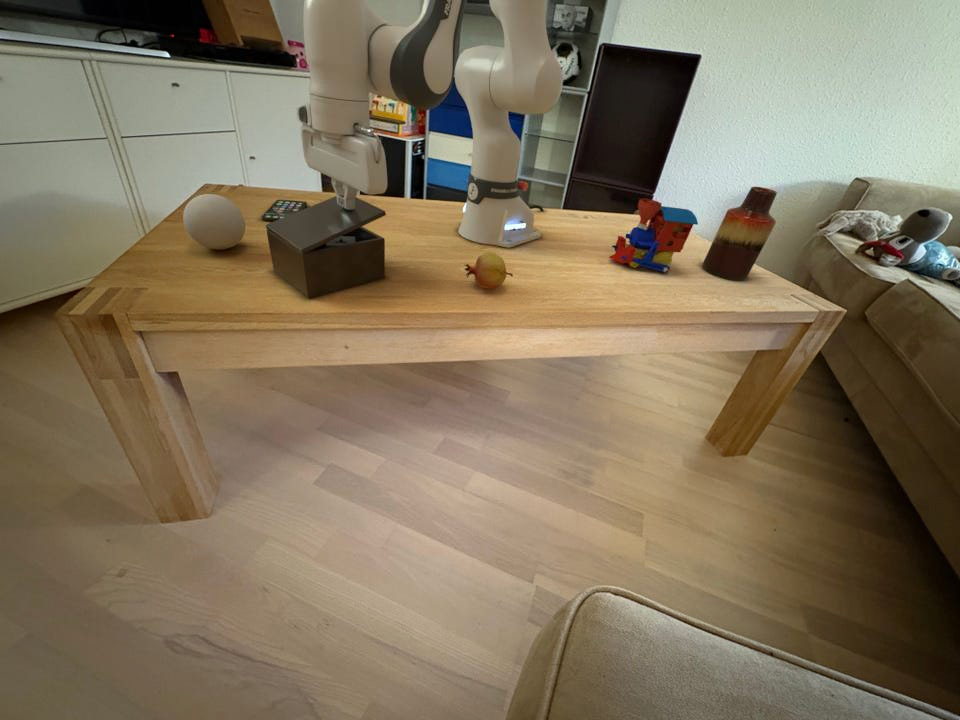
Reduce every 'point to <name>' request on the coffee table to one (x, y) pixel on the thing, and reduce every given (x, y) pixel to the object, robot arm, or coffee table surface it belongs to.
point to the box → (330, 263)
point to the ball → (214, 221)
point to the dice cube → (340, 241)
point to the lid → (323, 223)
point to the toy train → (655, 236)
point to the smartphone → (283, 209)
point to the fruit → (488, 270)
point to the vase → (741, 236)
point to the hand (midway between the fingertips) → (346, 207)
